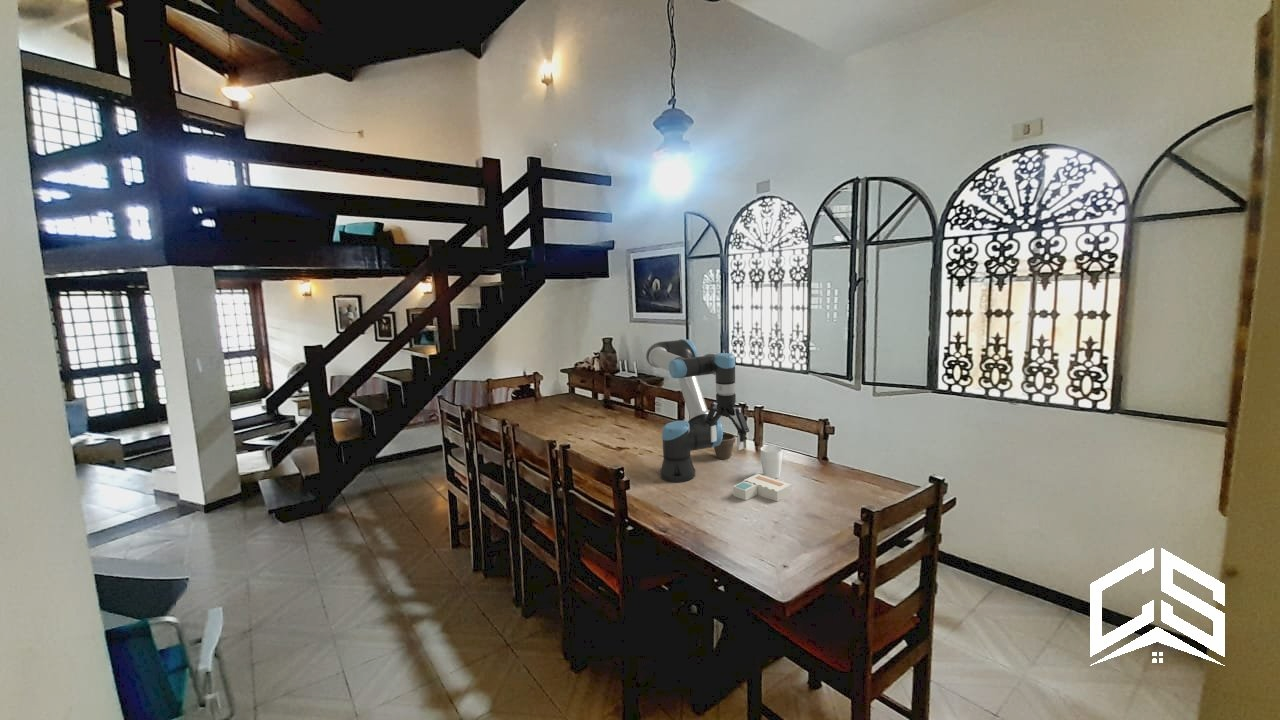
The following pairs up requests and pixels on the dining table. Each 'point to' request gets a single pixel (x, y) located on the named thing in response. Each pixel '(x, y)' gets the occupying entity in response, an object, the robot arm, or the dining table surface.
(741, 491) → the white teal-topped box
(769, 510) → the dining table surface
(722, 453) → the flower pot
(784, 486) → the block
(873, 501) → the dining table surface
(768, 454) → the cup
